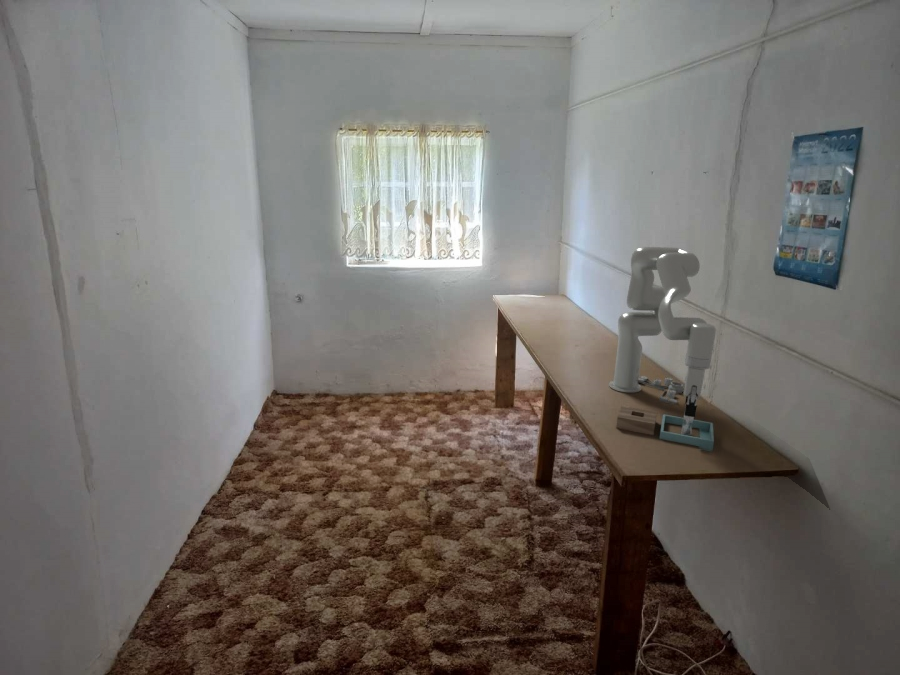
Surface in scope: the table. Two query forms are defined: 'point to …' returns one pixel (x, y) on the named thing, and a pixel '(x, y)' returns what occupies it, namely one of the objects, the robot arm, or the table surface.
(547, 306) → the table surface
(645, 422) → the block
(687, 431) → the pin
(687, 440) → the tray
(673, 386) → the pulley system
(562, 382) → the table surface
